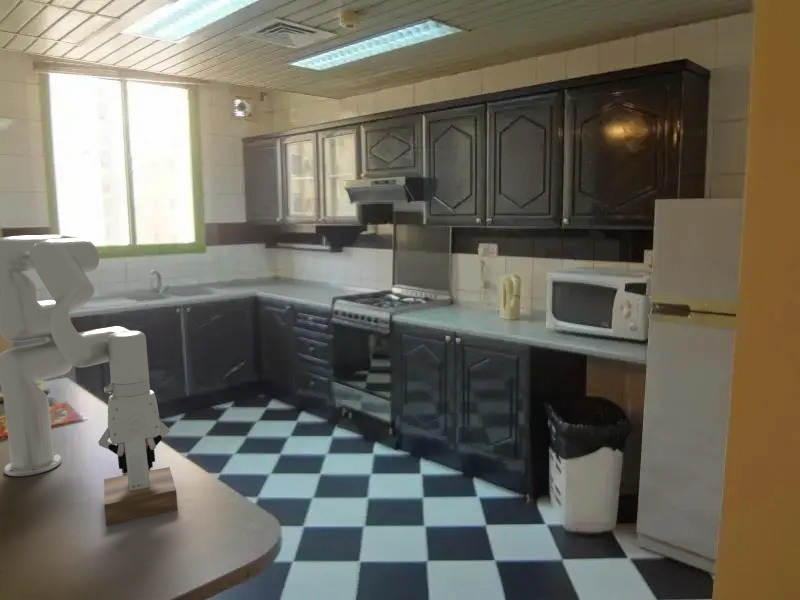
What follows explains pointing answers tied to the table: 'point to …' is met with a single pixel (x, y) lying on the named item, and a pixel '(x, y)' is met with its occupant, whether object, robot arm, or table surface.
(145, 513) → the walnut block
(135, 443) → the skincare box
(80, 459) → the table surface
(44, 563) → the table surface
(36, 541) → the table surface
